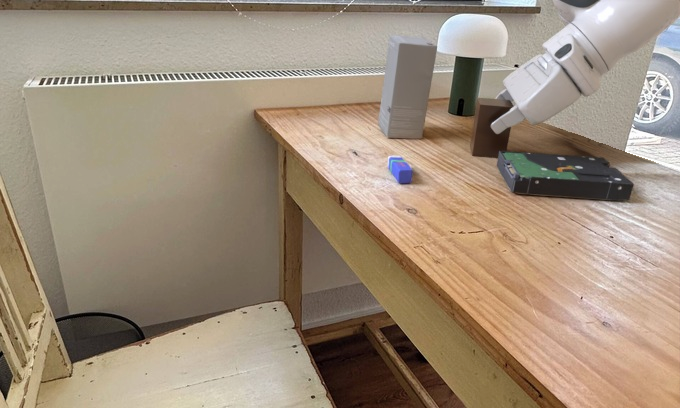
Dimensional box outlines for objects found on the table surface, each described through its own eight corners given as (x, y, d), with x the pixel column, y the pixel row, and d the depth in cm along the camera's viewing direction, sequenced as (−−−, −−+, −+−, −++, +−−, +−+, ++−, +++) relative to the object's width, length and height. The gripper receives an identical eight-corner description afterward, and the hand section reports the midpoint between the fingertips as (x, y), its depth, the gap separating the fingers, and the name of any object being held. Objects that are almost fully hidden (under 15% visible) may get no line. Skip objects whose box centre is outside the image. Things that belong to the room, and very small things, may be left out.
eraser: (400, 168, 73) (401, 154, 72) (411, 184, 67) (413, 169, 66) (386, 168, 72) (387, 154, 71) (397, 184, 67) (398, 169, 66)
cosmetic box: (377, 125, 93) (383, 34, 86) (415, 125, 93) (425, 35, 87) (386, 139, 85) (394, 40, 78) (427, 139, 86) (439, 41, 79)
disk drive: (597, 174, 74) (494, 167, 74) (602, 156, 73) (498, 148, 73) (630, 204, 64) (511, 195, 65) (636, 183, 63) (515, 174, 64)
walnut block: (501, 148, 83) (510, 99, 80) (505, 158, 78) (514, 107, 75) (470, 146, 84) (477, 97, 80) (472, 155, 79) (480, 104, 76)
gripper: (543, 36, 83) (472, 91, 88) (574, 54, 64) (482, 122, 70) (566, 66, 84) (495, 119, 89) (602, 92, 65) (510, 156, 71)
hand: (489, 121), depth 79 cm, fingers open, 8 cm apart
